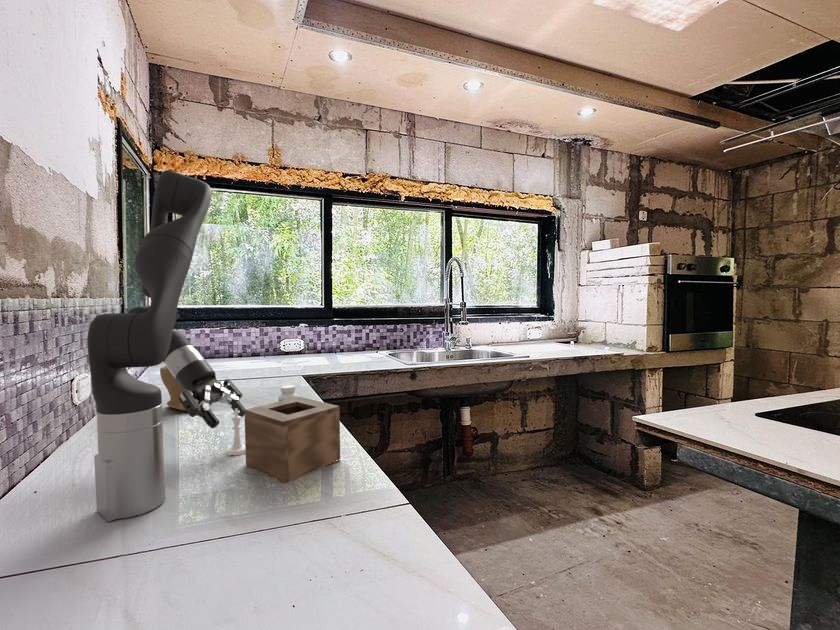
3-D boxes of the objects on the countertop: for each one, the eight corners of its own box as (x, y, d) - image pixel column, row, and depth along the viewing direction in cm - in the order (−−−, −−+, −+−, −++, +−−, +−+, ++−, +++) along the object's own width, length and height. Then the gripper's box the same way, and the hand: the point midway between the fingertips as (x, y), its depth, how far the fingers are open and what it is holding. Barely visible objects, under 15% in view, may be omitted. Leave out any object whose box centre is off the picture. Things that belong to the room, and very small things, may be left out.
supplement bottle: (301, 417, 125) (300, 384, 125) (294, 422, 120) (293, 388, 119) (283, 416, 126) (282, 384, 125) (275, 422, 120) (274, 388, 120)
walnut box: (284, 483, 82) (283, 421, 81) (245, 465, 90) (244, 409, 90) (340, 460, 93) (339, 406, 92) (301, 446, 101) (300, 396, 101)
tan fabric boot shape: (156, 408, 136) (154, 361, 135) (195, 401, 145) (193, 357, 144) (173, 417, 126) (171, 367, 125) (214, 408, 135) (212, 362, 134)
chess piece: (221, 453, 97) (219, 410, 97) (239, 446, 101) (237, 405, 101) (235, 457, 95) (234, 413, 94) (253, 449, 99) (252, 407, 99)
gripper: (172, 363, 94) (215, 419, 91) (221, 354, 107) (260, 402, 104) (155, 385, 96) (197, 440, 93) (205, 373, 109) (243, 421, 106)
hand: (230, 420), depth 98 cm, fingers open, 8 cm apart
